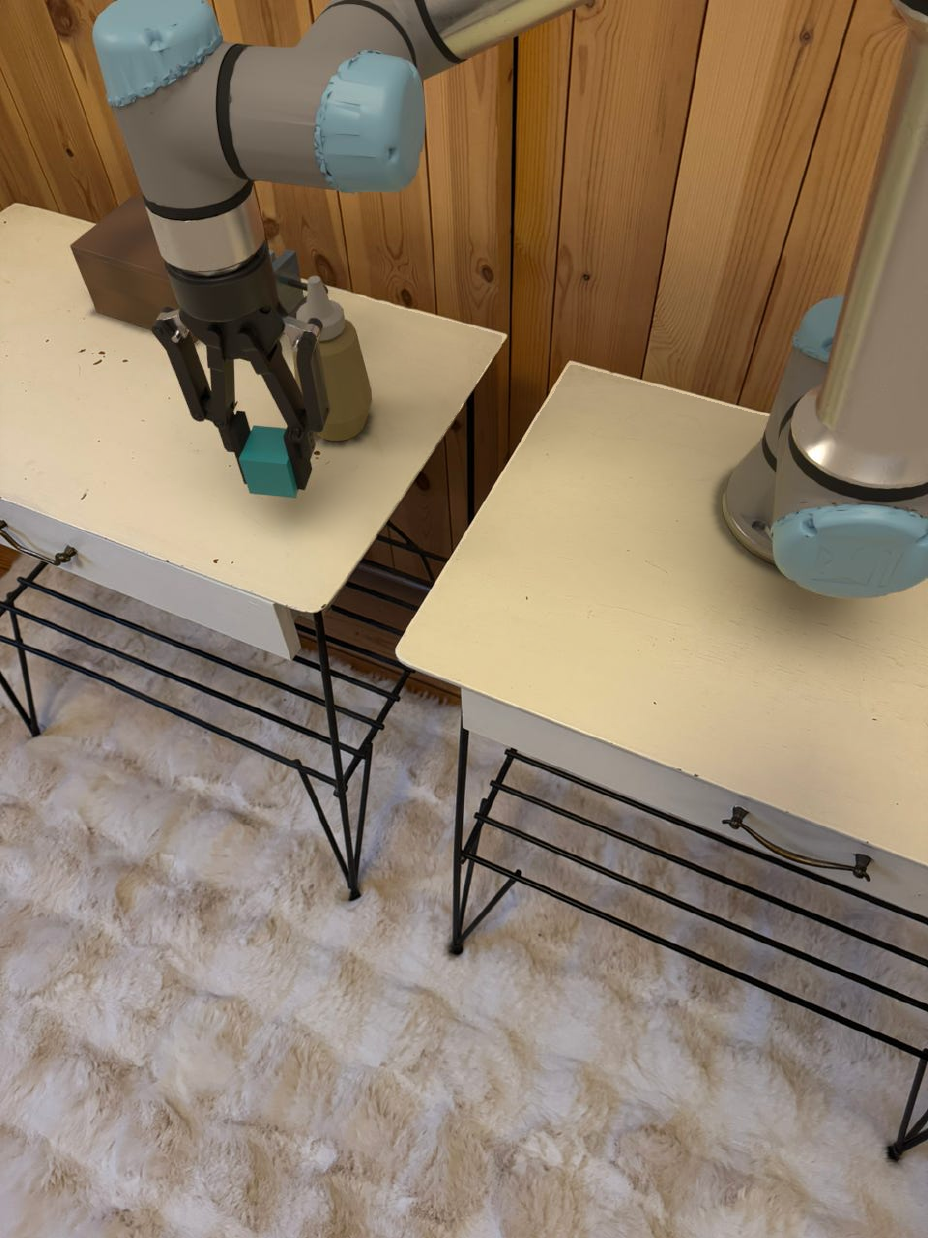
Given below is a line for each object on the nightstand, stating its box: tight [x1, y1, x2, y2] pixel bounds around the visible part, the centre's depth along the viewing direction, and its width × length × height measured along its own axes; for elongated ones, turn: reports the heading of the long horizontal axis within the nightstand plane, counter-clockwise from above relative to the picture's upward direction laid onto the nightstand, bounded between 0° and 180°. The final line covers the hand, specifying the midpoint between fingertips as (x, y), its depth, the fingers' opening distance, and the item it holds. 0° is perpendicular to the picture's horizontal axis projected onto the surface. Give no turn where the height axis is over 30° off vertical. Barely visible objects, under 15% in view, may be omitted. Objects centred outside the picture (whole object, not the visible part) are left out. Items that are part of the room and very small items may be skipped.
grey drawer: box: [269, 248, 329, 319], centre depth 107 cm, size 18×10×7 cm, turn 64°
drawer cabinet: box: [69, 195, 199, 344], centre depth 110 cm, size 15×12×9 cm
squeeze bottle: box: [292, 275, 373, 442], centre depth 93 cm, size 8×8×18 cm
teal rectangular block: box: [239, 424, 299, 499], centre depth 83 cm, size 4×4×4 cm
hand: (278, 476), depth 85 cm, fingers closed on teal rectangular block, 4 cm apart
